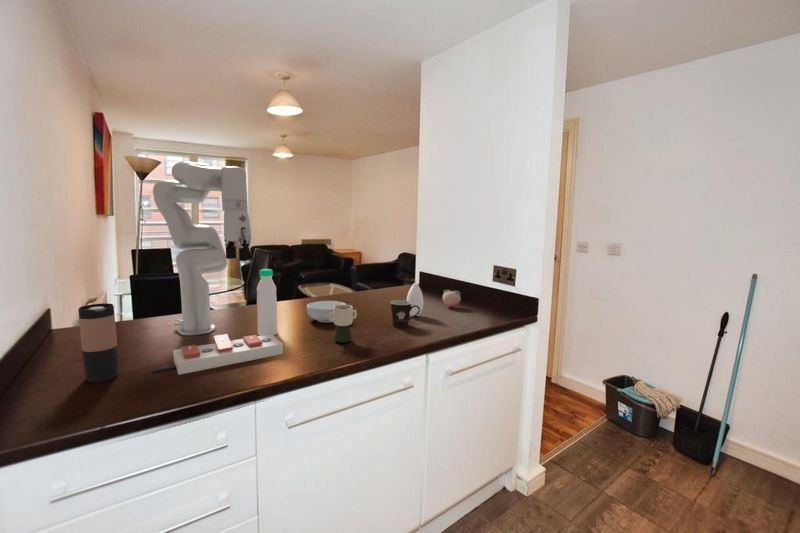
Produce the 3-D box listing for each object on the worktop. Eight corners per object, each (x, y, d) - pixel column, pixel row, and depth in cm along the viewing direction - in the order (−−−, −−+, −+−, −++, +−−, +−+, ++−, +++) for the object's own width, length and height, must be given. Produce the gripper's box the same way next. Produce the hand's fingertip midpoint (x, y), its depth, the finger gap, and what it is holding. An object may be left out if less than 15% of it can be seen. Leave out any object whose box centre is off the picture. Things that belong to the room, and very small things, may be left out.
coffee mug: (386, 327, 157) (387, 303, 155) (395, 321, 165) (395, 299, 163) (413, 330, 152) (413, 306, 151) (420, 325, 160) (420, 302, 159)
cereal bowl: (353, 319, 167) (354, 303, 166) (327, 328, 153) (327, 311, 152) (325, 313, 176) (325, 298, 175) (298, 321, 162) (298, 305, 161)
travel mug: (97, 371, 108) (91, 303, 105) (126, 371, 109) (120, 303, 106) (77, 383, 100) (70, 310, 98) (107, 382, 101) (101, 310, 98)
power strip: (153, 379, 103) (152, 367, 103) (150, 365, 113) (149, 353, 113) (283, 353, 125) (282, 343, 124) (271, 343, 134) (271, 333, 134)
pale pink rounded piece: (441, 309, 188) (442, 289, 187) (442, 305, 196) (443, 286, 195) (460, 310, 187) (461, 290, 185) (460, 306, 195) (461, 287, 193)
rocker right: (249, 346, 120) (249, 343, 120) (243, 339, 126) (243, 336, 126) (262, 344, 122) (262, 341, 122) (255, 337, 128) (255, 334, 128)
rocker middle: (218, 352, 114) (218, 349, 114) (213, 338, 120) (213, 335, 120) (232, 349, 117) (232, 346, 116) (227, 336, 123) (227, 333, 122)
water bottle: (271, 337, 140) (269, 271, 137) (254, 336, 141) (252, 270, 138) (280, 332, 147) (279, 268, 143) (264, 330, 148) (262, 267, 145)
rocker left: (184, 358, 109) (184, 354, 109) (181, 349, 116) (181, 346, 115) (200, 355, 112) (200, 351, 111) (196, 347, 118) (195, 344, 118)
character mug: (352, 336, 144) (352, 303, 142) (360, 341, 138) (360, 307, 136) (325, 340, 138) (325, 306, 136) (332, 346, 132) (332, 310, 131)
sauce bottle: (423, 319, 170) (424, 279, 168) (406, 318, 170) (407, 279, 168) (422, 314, 178) (423, 276, 175) (406, 314, 178) (407, 276, 175)
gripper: (259, 206, 118) (261, 260, 120) (234, 207, 130) (237, 257, 132) (235, 205, 112) (238, 262, 115) (212, 206, 124) (215, 258, 126)
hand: (237, 259), depth 123 cm, fingers open, 9 cm apart
